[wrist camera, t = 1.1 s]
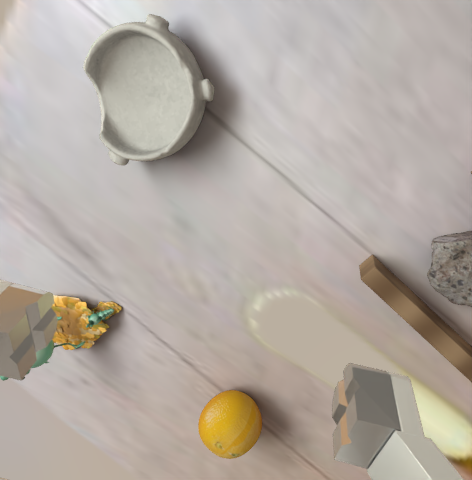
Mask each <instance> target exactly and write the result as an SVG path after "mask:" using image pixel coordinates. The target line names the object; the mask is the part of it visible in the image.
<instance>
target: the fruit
mask: <svg viewBox="0 0 472 480" xmlns="http://www.w3.org/2000/svg"><path fill="white" fill-rule="evenodd" d="M261 429H262V417H261V413H260V411H259V408H258V406H257V405H256V403H255V402H254V401H253V399H252V398H250V397H249V396H248V395H246V394H245V393H243V392H240V391H236V390H229V391H225V392H222V393H220V394H218V395H217V396H215V397H214V398H213V399H211V400H210V401H209V402H208V404H207V405H206V406H205V408H204V409H203V411H202V413H201V415H200V419H199V434H200V437H201V440H202V441H203V443H204V444H205V446H206V447H207V448H208V449H209V450H210V451H212V452H213V453H214V454H216V455H218V456H220V457H222V458H228V459H231V458H237V457H239V456H241V455H243V454H245V453H246V452H248V451H249V450H250V449H251V448H252V447H253V446H254V444H255V443H256V442H257V440H258V438H259V436H260V433H261Z"/></svg>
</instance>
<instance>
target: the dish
mask: <svg viewBox="0 0 472 480" xmlns="http://www.w3.org/2000/svg"><path fill="white" fill-rule="evenodd" d="M168 26H169V23H168V21H166V20H165V19H163V18H162V17H160V16H156V15H152V14H149V15H147V21H146V22H132V23H125V24H121V25H118V26H115V27H113V28H111V29H109V30H108V31H106V32H105V33H103V34H102V35H101V36H100V37H99V38H98V39H97V40H96V41H95V42H94V43H93V45H92V46H91V48H90V50H89V53H88V55H87V57H86V59H85V62H84V67H83V68H84V71H85V72H86V74H87V76H88V77H89V78H90V80H91V81H92V83H93V85H94V87H95V90H96V92H97V94H98V98H99V103H100V109H101V116H102V120H101V133H100V140H101V141H102V142H103V143H104V145H105V146H106V147H107V148H108V149H109V150H110V151H109V153H108V154H109V156H110V158H111V159H112V161H113V162H114V163H116V164H118V165H126V164H127V163H128V162H129V159H130V160H135V161H153V160H158V159H161V158H164V157H167V156H170V155H172V154H174V153H175V152H177V151H178V150H180V149H181V148H182V147H184V146H185V145H186V144H187V143H188V142H189V140H190V139H191V138H192V137H193V135H194V134H195V132H196V130H197V129H198V127H199V125H200V122H201V120H202V118H203V114H204V111H205V106H206V101H212V100H213V97H214V90H215V88H214V86H213V85H212V84H211V82H210V81H209V79H204V78H203V75H202V73H201V70H200V68H199V65H198V63H197V61H196V59H195V57H194V56H193V54H192V52H191V51H190V50H189V48H188V47H187V46H186V45H185V44H184V42H183V41H182V40H180V39H179V38H178V37H177V36H176V35H174V34H173V33H171V32H170V31H169V30H168Z"/></svg>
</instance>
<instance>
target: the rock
mask: <svg viewBox="0 0 472 480" xmlns="http://www.w3.org/2000/svg"><path fill="white" fill-rule="evenodd" d="M431 248H432V249H433V252H432V264H431V268H430V270H429V271H428V273H427V276H428V278H429V281H430V284H431V286H432V287H433V288H434V289H435V290H436V291H437V292H439V293H441V294H442V295H443V296H445V297H447V298H448V300H449V301H450V302H452V303H455V304H458V305H459V304H460V305H468V306H471V307H472V231H467V232H463V233H456V234H451V235H445V236H441V237H437V238H434V239H433V241H432V244H431Z"/></svg>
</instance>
